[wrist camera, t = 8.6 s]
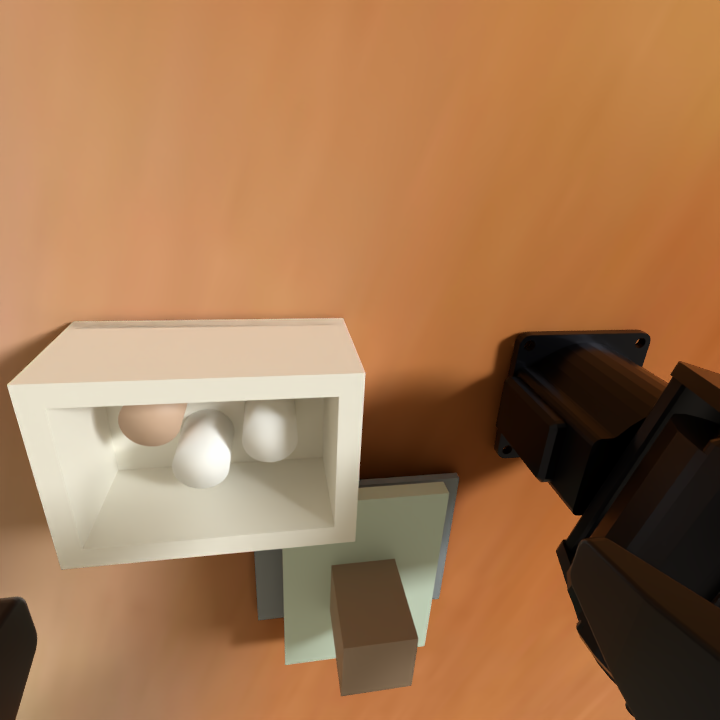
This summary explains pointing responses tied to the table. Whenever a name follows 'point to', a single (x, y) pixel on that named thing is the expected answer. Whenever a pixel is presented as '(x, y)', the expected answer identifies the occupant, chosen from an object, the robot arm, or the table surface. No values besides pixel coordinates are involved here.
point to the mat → (272, 560)
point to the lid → (368, 589)
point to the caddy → (193, 437)
